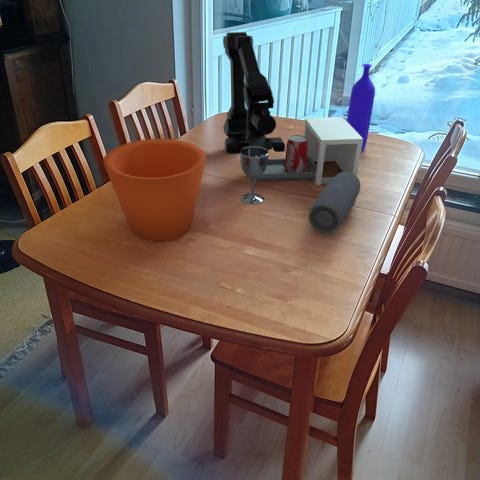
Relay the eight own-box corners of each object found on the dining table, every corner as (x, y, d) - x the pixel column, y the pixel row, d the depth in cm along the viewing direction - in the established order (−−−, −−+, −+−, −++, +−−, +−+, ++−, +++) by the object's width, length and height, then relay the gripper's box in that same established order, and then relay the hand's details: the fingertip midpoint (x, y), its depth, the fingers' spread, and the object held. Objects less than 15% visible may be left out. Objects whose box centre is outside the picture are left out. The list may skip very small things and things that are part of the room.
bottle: (367, 146, 179) (382, 63, 163) (362, 153, 173) (377, 68, 157) (346, 142, 182) (358, 60, 166) (340, 149, 176) (352, 65, 160)
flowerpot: (187, 259, 116) (184, 186, 105) (95, 242, 121) (83, 171, 110) (219, 211, 136) (219, 145, 125) (139, 198, 141) (132, 134, 130)
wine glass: (269, 195, 145) (271, 148, 136) (261, 207, 138) (263, 159, 130) (244, 190, 147) (245, 144, 139) (235, 202, 140) (236, 154, 132)
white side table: (316, 185, 151) (321, 140, 143) (301, 159, 168) (305, 118, 159) (355, 183, 153) (363, 138, 144) (336, 158, 169) (342, 117, 161)
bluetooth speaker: (328, 196, 145) (333, 166, 139) (359, 203, 141) (364, 173, 136) (304, 232, 127) (308, 199, 122) (338, 241, 124) (343, 207, 119)
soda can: (305, 177, 155) (309, 142, 149) (284, 176, 156) (286, 141, 149) (305, 168, 161) (309, 134, 155) (284, 167, 162) (287, 133, 155)
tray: (258, 181, 152) (258, 174, 151) (252, 166, 162) (252, 159, 161) (319, 179, 155) (320, 172, 153) (309, 164, 164) (310, 157, 163)
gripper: (228, 133, 140) (227, 181, 148) (290, 132, 142) (286, 179, 150) (224, 120, 149) (224, 166, 158) (283, 119, 151) (279, 165, 160)
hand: (253, 169), depth 156 cm, fingers closed
